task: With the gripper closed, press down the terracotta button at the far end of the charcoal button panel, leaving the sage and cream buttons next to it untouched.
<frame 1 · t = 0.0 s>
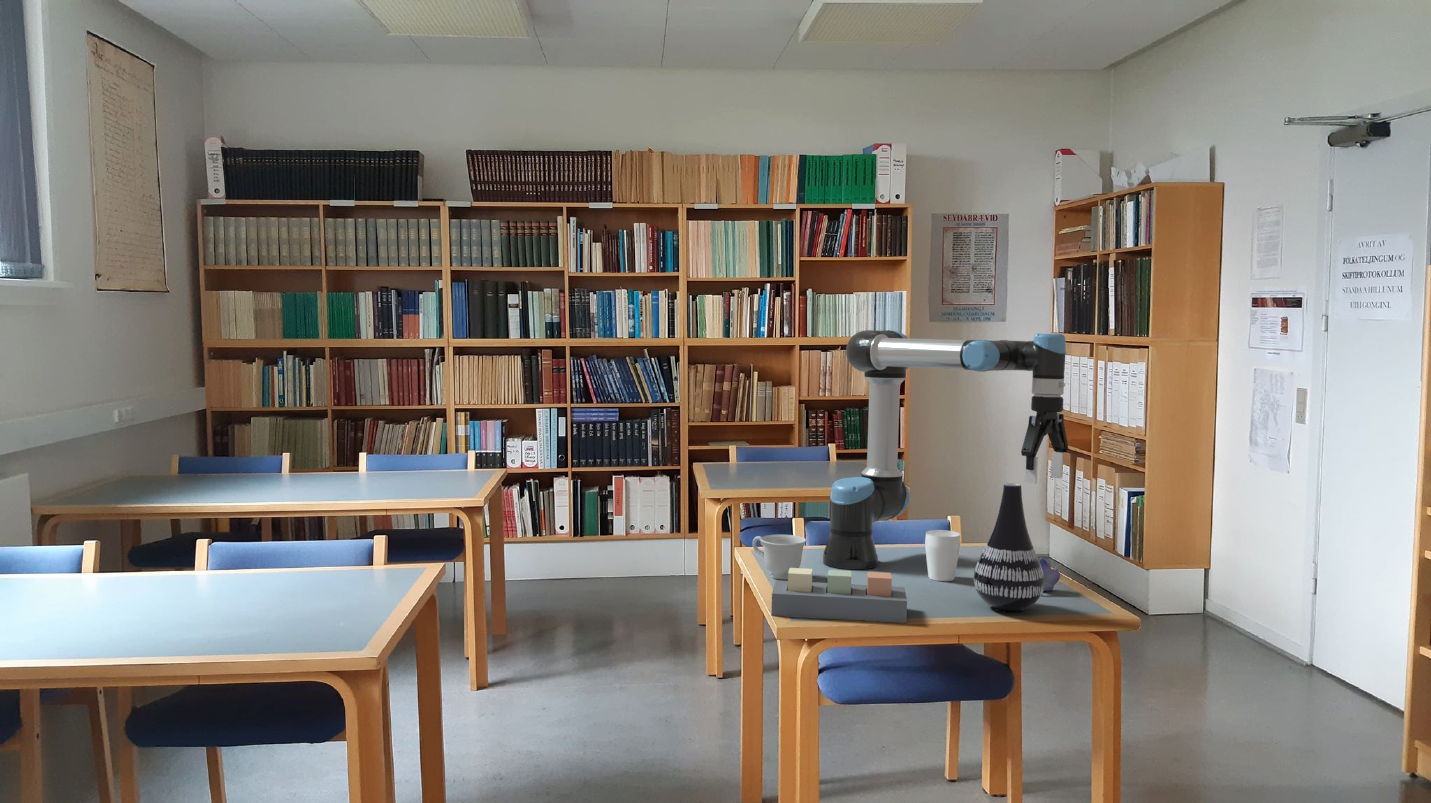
hand: (1043, 480, 246), 28 cm above the table, fingers open, 13 cm apart
vase: (1007, 609, 231), on the table
cup: (941, 579, 258), on the table
button sage: (839, 587, 225), point 6 cm above the table, slide at 0.0 cm
panel: (838, 611, 226), on the table
button terracotta: (879, 589, 224), point 6 cm above the table, slide at 0.0 cm
teacup: (777, 576, 257), on the table
flower: (1041, 592, 247), on the table
button cream: (800, 584, 226), point 6 cm above the table, slide at 0.0 cm
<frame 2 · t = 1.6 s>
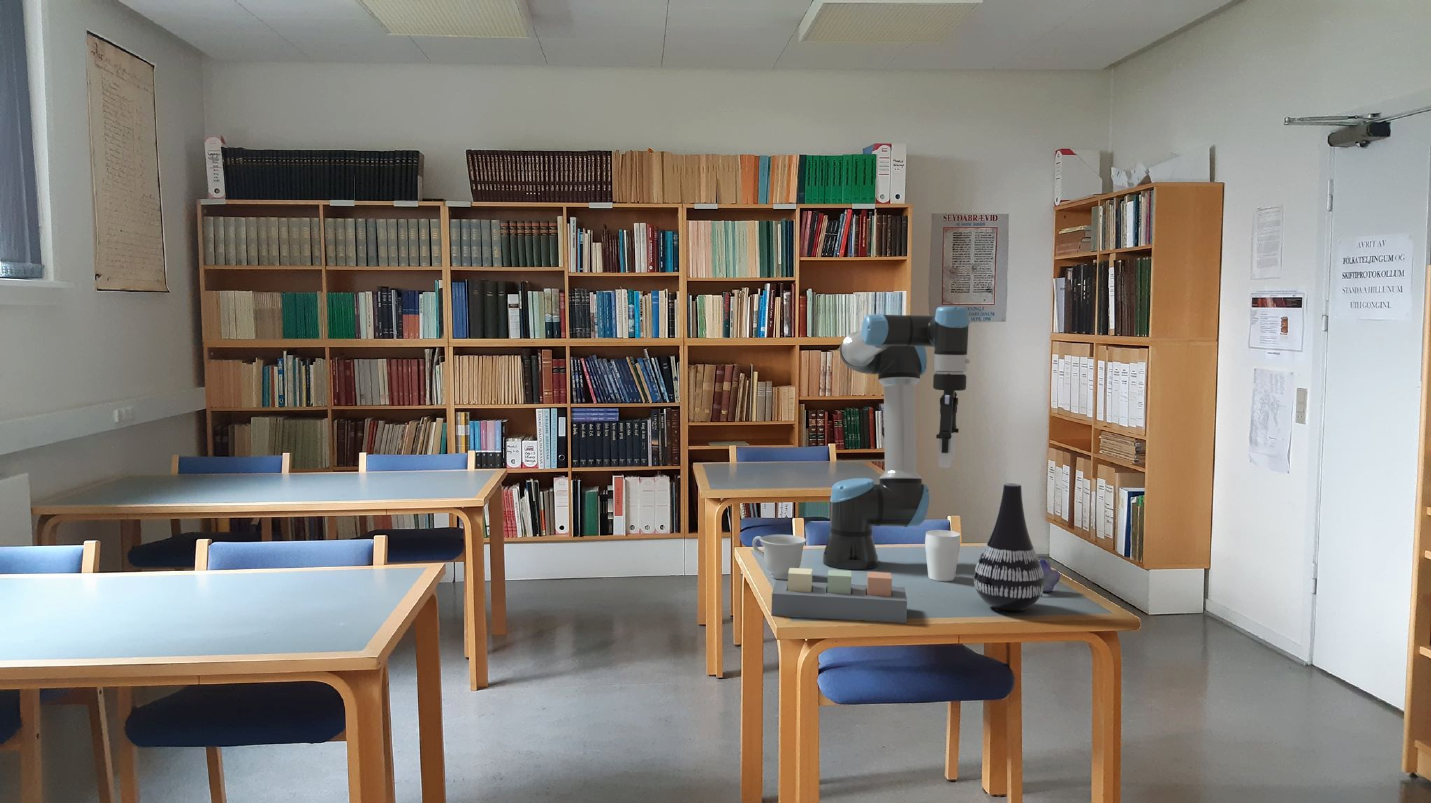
hand: (946, 463, 230), 34 cm above the table, fingers open, 13 cm apart
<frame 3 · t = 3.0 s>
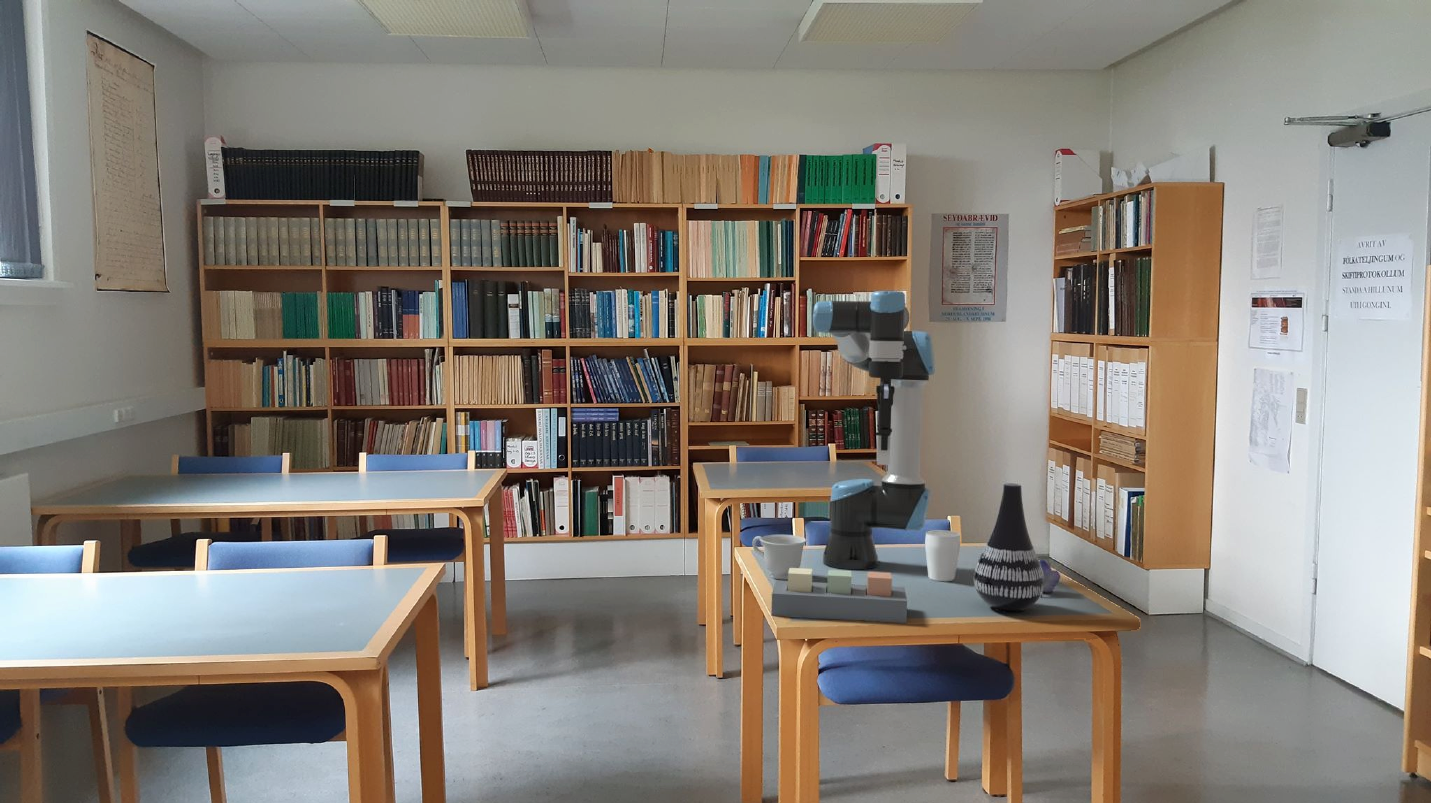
hand: (883, 462, 222), 35 cm above the table, fingers open, 6 cm apart
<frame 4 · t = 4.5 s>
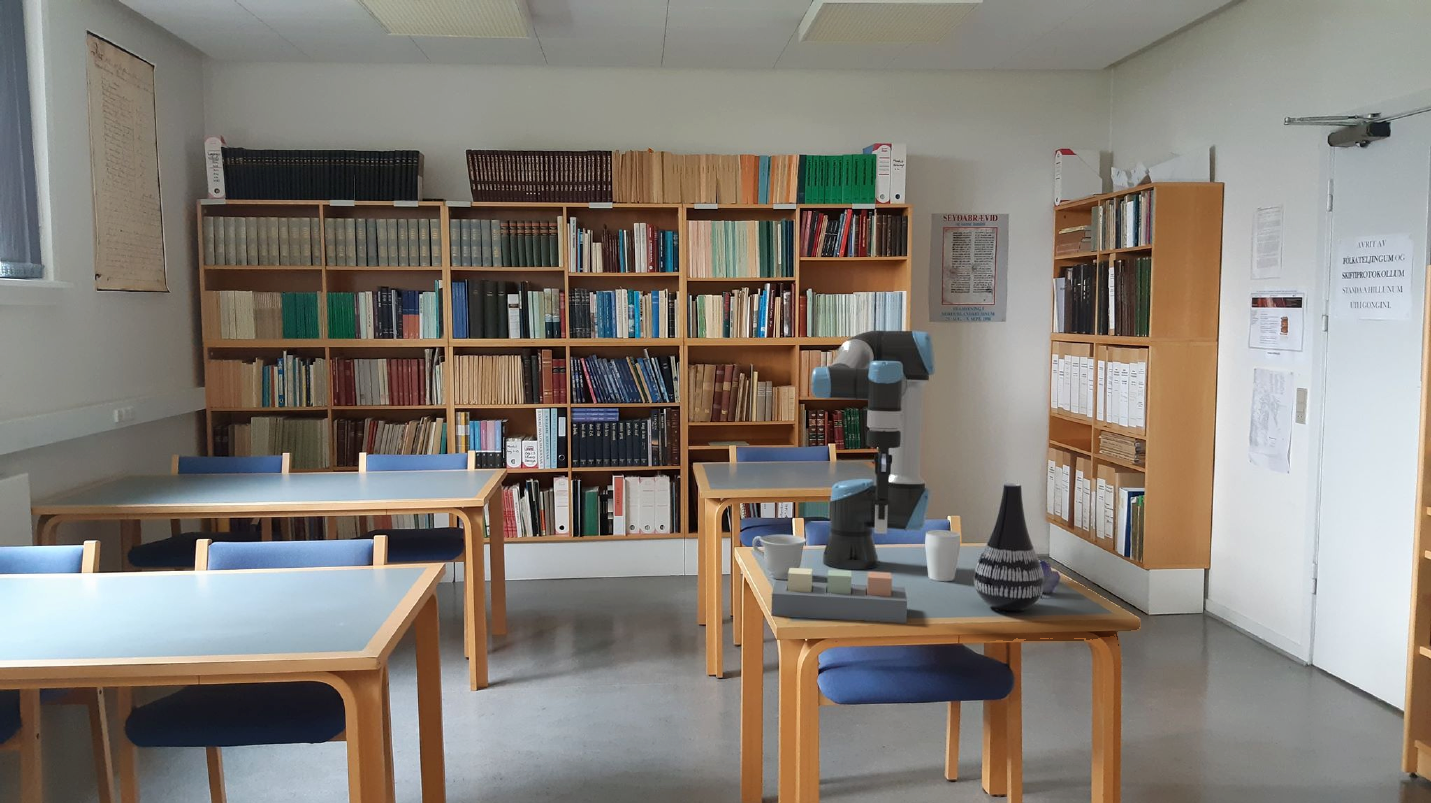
hand: (880, 532, 223), 19 cm above the table, fingers closed
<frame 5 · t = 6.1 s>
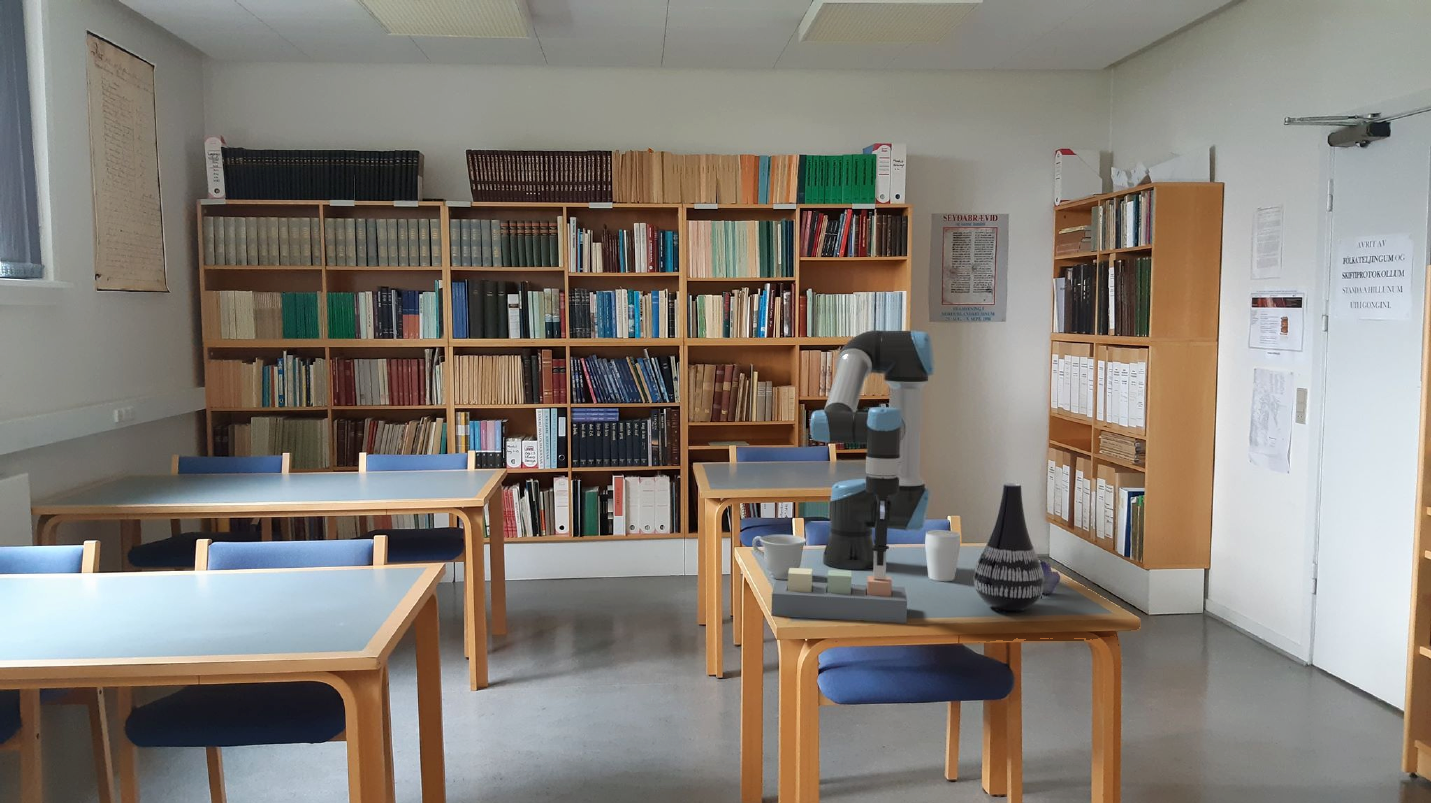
hand: (879, 578, 224), 8 cm above the table, fingers closed
button terracotta: (878, 593, 224), point 5 cm above the table, slide at 1.0 cm, touching gripper
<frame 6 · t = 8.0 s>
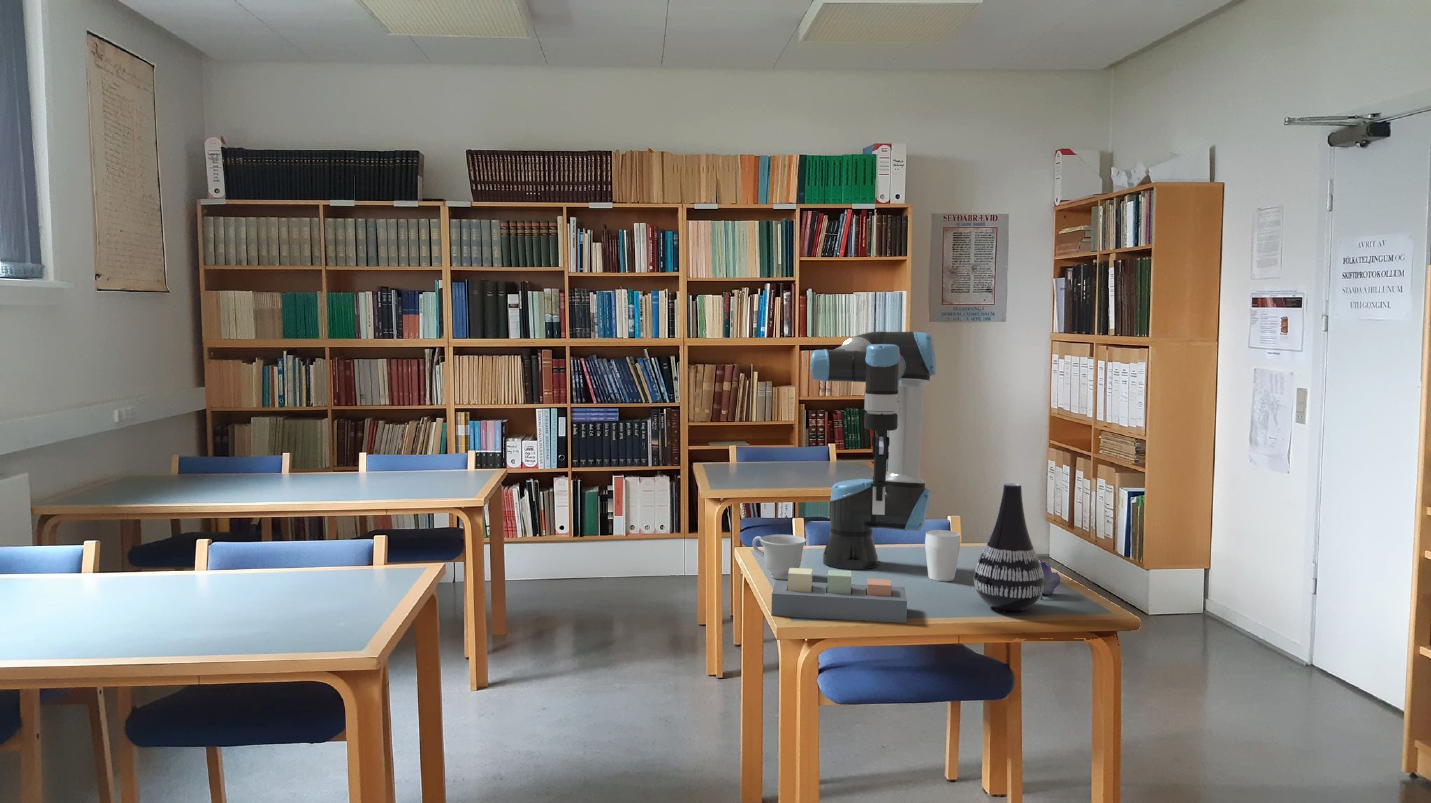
hand: (878, 513, 226), 23 cm above the table, fingers closed
button terracotta: (878, 596, 224), point 4 cm above the table, slide at 1.6 cm
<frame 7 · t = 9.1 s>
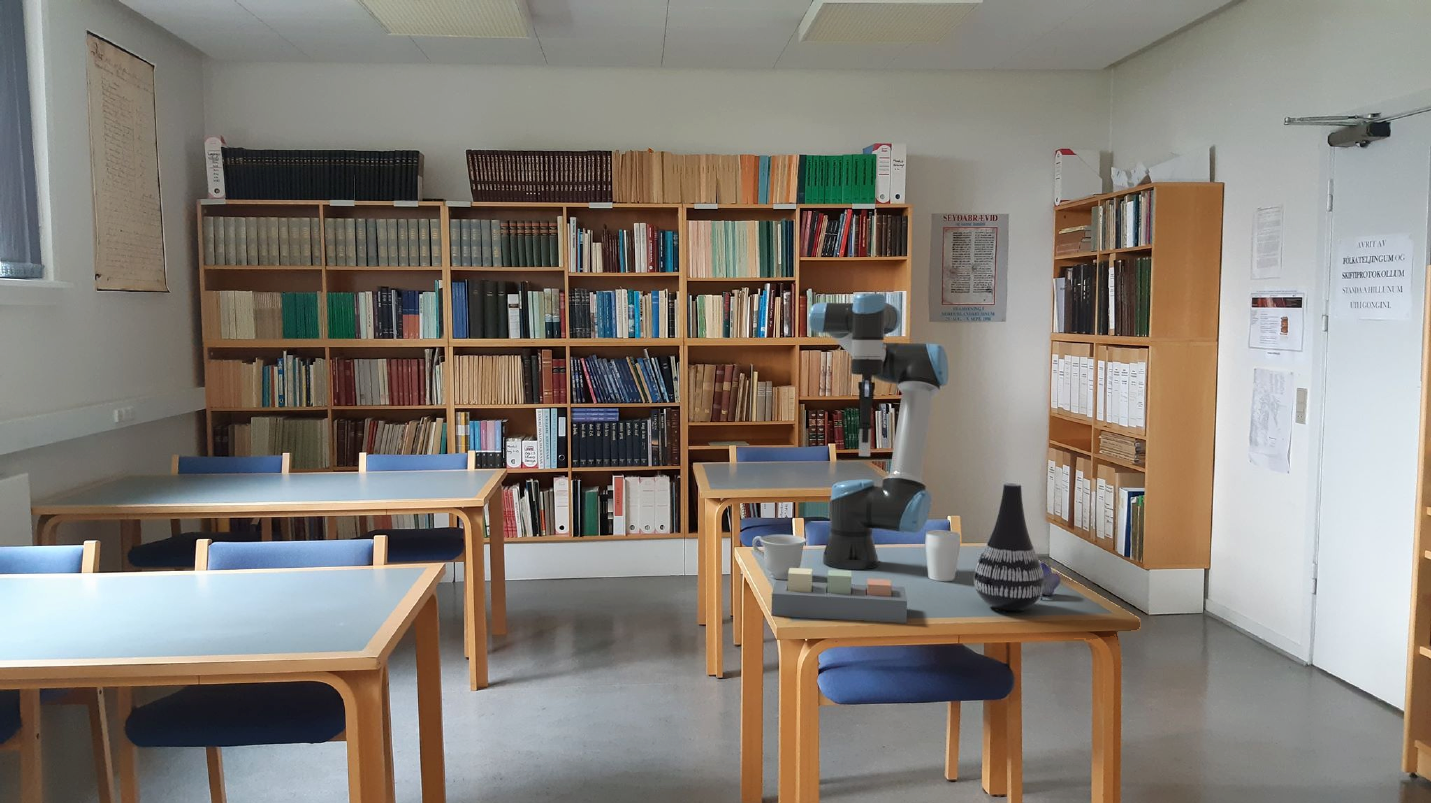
hand: (864, 455, 237), 34 cm above the table, fingers closed
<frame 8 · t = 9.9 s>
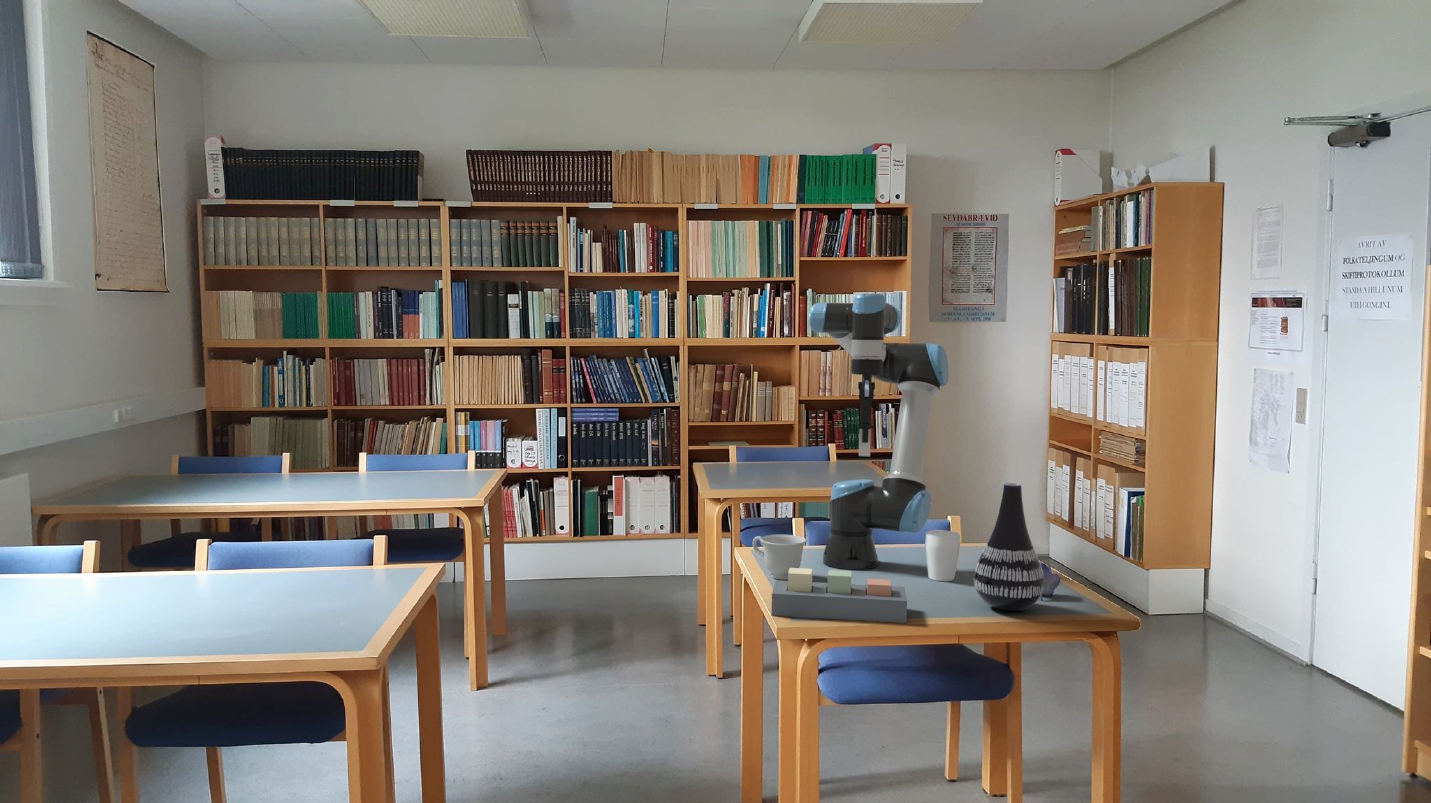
hand: (864, 455, 237), 34 cm above the table, fingers closed
at the end: button terracotta slide at 1.6 cm; button sage slide at 0.0 cm; button cream slide at 0.0 cm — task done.
